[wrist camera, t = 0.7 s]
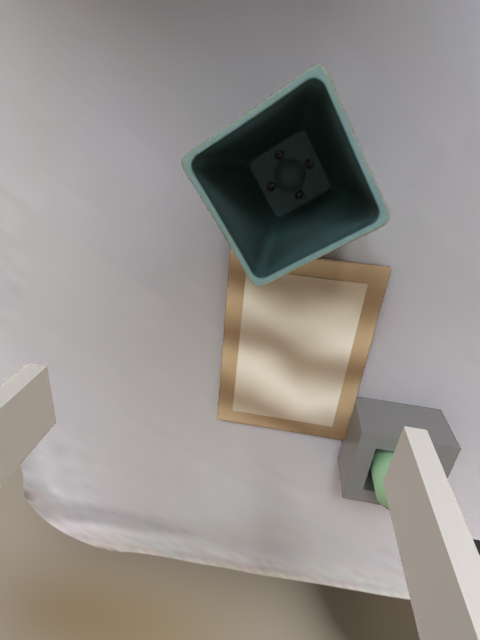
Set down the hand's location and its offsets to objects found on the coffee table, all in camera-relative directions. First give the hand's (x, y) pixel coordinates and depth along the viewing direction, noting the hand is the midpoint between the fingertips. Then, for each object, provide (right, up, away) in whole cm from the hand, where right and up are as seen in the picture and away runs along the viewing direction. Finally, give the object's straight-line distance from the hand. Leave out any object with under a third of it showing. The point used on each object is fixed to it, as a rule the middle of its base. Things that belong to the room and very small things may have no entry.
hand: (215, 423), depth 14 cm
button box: (+16, -8, +24) cm, 29 cm away
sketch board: (+6, +1, +21) cm, 22 cm away
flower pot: (+5, +15, +15) cm, 22 cm away
